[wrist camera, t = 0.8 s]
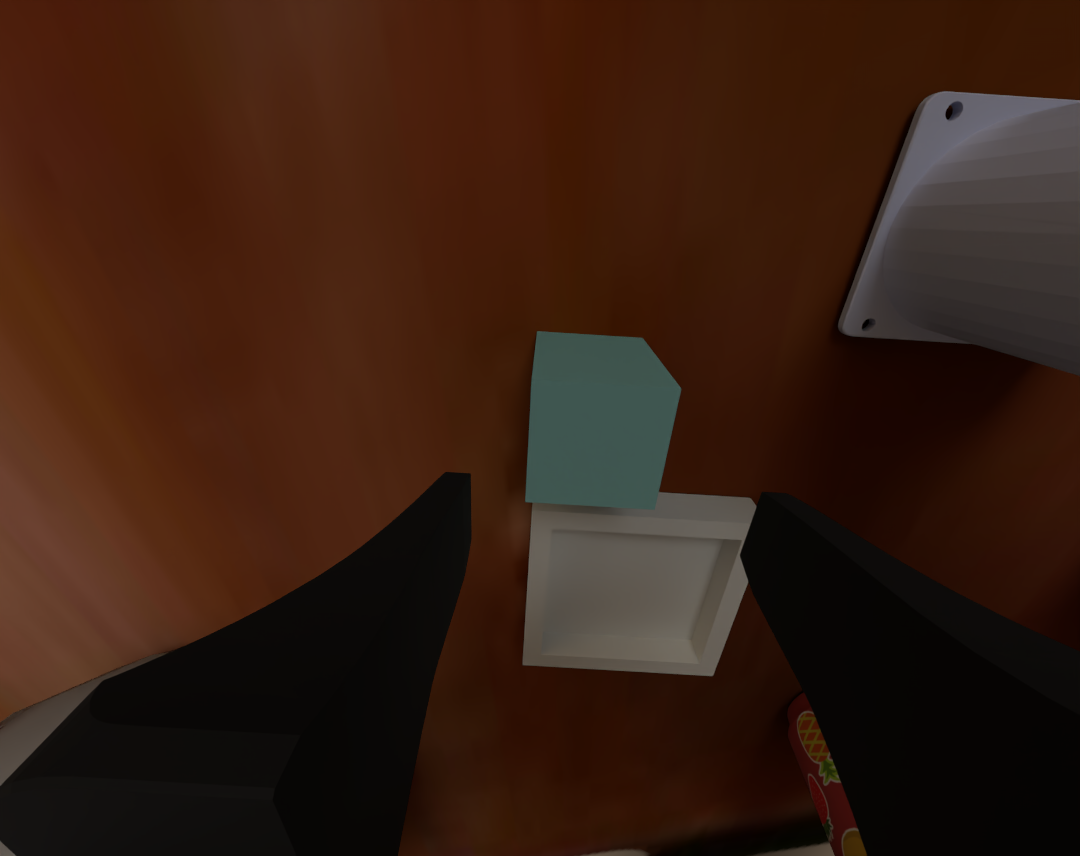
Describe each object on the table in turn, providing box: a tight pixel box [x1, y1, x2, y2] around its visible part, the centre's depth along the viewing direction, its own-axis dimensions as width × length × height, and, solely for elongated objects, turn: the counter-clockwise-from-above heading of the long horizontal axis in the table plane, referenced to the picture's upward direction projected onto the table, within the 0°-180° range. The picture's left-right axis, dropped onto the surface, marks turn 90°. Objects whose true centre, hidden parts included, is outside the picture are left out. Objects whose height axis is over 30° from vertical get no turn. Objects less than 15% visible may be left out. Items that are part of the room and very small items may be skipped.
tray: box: [523, 492, 757, 676], centre depth 23 cm, size 11×11×2 cm
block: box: [525, 331, 681, 510], centre depth 16 cm, size 4×4×6 cm
